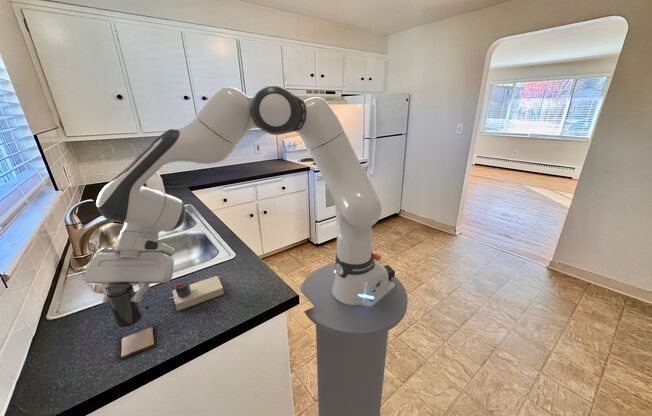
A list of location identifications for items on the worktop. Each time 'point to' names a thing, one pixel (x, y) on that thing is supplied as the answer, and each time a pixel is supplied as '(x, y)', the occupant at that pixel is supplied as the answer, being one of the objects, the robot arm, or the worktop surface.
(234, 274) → the worktop surface
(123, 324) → the jar
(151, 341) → the trivet
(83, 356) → the worktop surface
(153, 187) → the milk
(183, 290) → the knob
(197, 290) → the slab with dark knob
